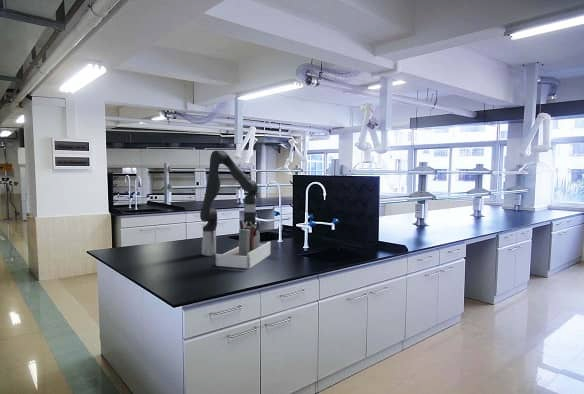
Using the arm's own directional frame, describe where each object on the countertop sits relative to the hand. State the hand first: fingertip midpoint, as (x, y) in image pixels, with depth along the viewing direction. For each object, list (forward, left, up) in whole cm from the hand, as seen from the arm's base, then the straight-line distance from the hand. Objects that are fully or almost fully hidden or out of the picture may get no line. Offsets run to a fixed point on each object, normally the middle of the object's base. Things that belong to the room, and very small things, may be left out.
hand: (249, 236), depth 244 cm
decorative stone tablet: (0, 0, -13) cm, 13 cm away
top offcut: (-8, 0, -14) cm, 16 cm away
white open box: (-3, 0, -17) cm, 17 cm away
